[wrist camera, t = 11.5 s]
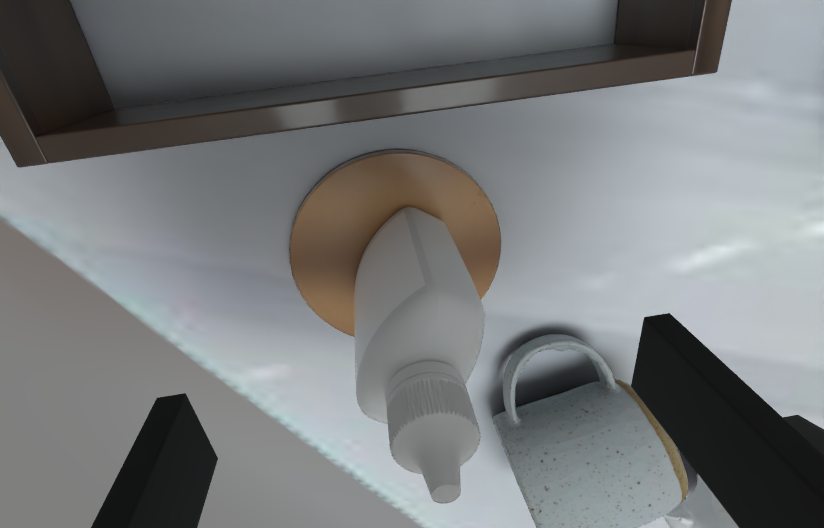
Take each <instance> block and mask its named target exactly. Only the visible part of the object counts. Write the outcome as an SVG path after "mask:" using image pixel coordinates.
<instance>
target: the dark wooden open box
mask: <svg viewBox="0 0 824 528" xmlns="http://www.w3.org/2000/svg"><path fill="white" fill-rule="evenodd" d="M731 2H732V0H619V8H618V18H617V28H616V38H615V44H609V45H601V46H594V47H586V48H578V49H571V50H563V51H555V52H548V53H540V54H532V55H525V56H517V57H509V58H502V59H494V60H486V61H479V62H471V63H463V64H456V65H448V66H440V67H433V68H425V69H417V70H410V71H402V72H394V73H387V74H379V75H371V76H364V77H356V78H348V79H341V80H333V81H325V82H318V83H310V84H302V85H295V86H287V87H279V88H272V89H264V90H256V91H249V92H241V93H234V94H226V95H218V96H211V97H203V98H195V99H188V100H180V101H172V102H165V103H157V104H149V105H142V106H134V107H126V108H119V109H114V108H113V106H112V103H111V101H110V99H109V96H108V94H107V91H106V89H105V87H104V84H103V82H102V79H101V77H100V74H99V72H98V70H97V67H96V65H95V62H94V60H93V58H92V55H91V53H90V50H89V48H88V46H87V43H86V41H85V38H84V36H83V34H82V31H81V29H80V26H79V24H78V22H77V19H76V17H75V14H74V12H73V9H72V7H71V5H70V2H69V0H0V136H1V138H2V140H3V142H4V143H5V145H6V147H7V149H8V151H9V153H10V154H11V156H12V158H13V160H14V162H15V163H16V165H17V167H28V166H35V165H42V164H48V163H56V162H63V161H71V160H78V159H85V158H93V157H100V156H107V155H115V154H122V153H129V152H137V151H144V150H151V149H159V148H166V147H174V146H181V145H188V144H196V143H203V142H210V141H218V140H225V139H232V138H240V137H247V136H254V135H262V134H269V133H277V132H284V131H291V130H299V129H306V128H313V127H321V126H328V125H335V124H343V123H350V122H358V121H365V120H372V119H380V118H387V117H394V116H402V115H409V114H416V113H424V112H431V111H438V110H446V109H453V108H461V107H468V106H475V105H483V104H490V103H497V102H505V101H512V100H519V99H527V98H534V97H541V96H549V95H556V94H564V93H571V92H578V91H586V90H593V89H600V88H608V87H615V86H622V85H630V84H637V83H644V82H652V81H659V80H667V79H674V78H681V77H689V76H697V75H704V74H711V73H716V72H717V70H718V65H719V60H720V55H721V50H722V45H723V40H724V36H725V31H726V26H727V21H728V16H729V11H730V7H731Z"/></svg>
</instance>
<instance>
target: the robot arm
mask: <svg viewBox="0 0 824 528" xmlns="http://www.w3.org/2000/svg"><path fill="white" fill-rule="evenodd" d="M631 387H632V388H633V390H634V391H635V392H636V394H637V395H638V396H639V397H640V399H641V400H642V401H643V403H644V404H645V405H646V407H647V408H648V409H649V411H650V412H651V413H652V414H653V416H654V417H655V418H656V420H657V421H658V422H659V424H660V425H661V426H662V428H663V429H664V430H665V431H666V433H667V434H668V435H669V437H670V438H671V439H672V441H673V442H674V443H675V445H676V446H677V447H678V448H679V450H680V451H681V452H682V454H683V455H684V456H685V458H686V459H687V460H688V462H689V463H690V464H691V466H692V467H693V468H694V469H695V471H696V472H697V473H698V475H699V476H700V477H701V479H702V480H703V481H704V483H705V484H706V485H707V486H708V488H709V489H710V490H711V492H712V493H713V494H714V496H715V497H716V498H717V500H718V501H719V502H720V503H721V505H722V506H723V507H724V509H725V510H726V511H727V513H728V514H729V515H730V517H731V518H732V519H733V520H734V522H735V523H736V524H737V526H738V527H739V528H824V429H822V428H820V427H818V426H817V425H815V424H813V423H811V422H809V421H808V420H806V419H804V418H802V417H801V416H799V415H794V416H789V417H783V418H782V417H781V416H780V415H779V414H778V413H777V412H776V411H775V410H774V409H773V408H772V407H771V406H769V405H768V404H767V403H766V402H765V401H764V400H763V399H762V398H761V397H760V396H759V395H758V394H756V393H755V392H754V391H753V390H752V389H751V388H750V387H749V386H748V385H747V384H746V383H745V382H743V381H742V380H741V379H740V378H739V377H738V376H737V375H736V374H735V373H734V372H733V371H731V370H730V369H729V368H728V367H727V366H726V365H725V364H724V363H723V362H722V361H721V360H720V359H718V358H717V357H716V356H715V355H714V354H713V353H712V352H711V351H710V350H709V349H708V348H707V347H705V346H704V345H703V344H702V343H701V342H700V341H699V340H698V339H697V338H696V337H695V336H694V335H692V334H691V333H690V332H689V331H688V330H687V329H686V328H685V327H684V326H683V325H682V324H681V323H679V322H678V321H677V320H676V319H675V318H674V317H673V316H672V315H671V314H670V313H668V314H662V315H656V316H650V317H644V321H643V326H642V332H641V337H640V342H639V348H638V353H637V358H636V363H635V369H634V374H633V379H632V384H631ZM217 460H218V458H217V456H216V454H215V452H214V450H213V448H212V446H211V444H210V441H209V439H208V437H207V436H206V433H205V432H204V429H203V427H202V426H201V424H200V421H199V420H198V418H197V415H196V414H195V411H194V410H193V407H192V406H191V404H190V401H189V399H188V398H187V395H186V394H178V395H173V396H166V397H160V398H157V399H156V401H155V403H154V405H153V407H152V409H151V411H150V413H149V415H148V417H147V419H146V421H145V423H144V425H143V427H142V429H141V431H140V433H139V435H138V436H137V438H136V440H135V442H134V445H133V446H132V448H131V451H130V452H129V454H128V456H127V458H126V460H125V462H124V464H123V466H122V468H121V470H120V472H119V474H118V476H117V478H116V480H115V482H114V484H113V486H112V488H111V490H110V492H109V493H108V495H107V497H106V499H105V501H104V503H103V506H102V507H101V509H100V511H99V513H98V515H97V517H96V519H95V521H94V523H93V525H92V527H91V528H197V526H198V523H199V519H200V516H201V513H202V510H203V506H204V503H205V499H206V496H207V493H208V490H209V486H210V483H211V479H212V476H213V473H214V470H215V466H216V462H217Z"/></svg>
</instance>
